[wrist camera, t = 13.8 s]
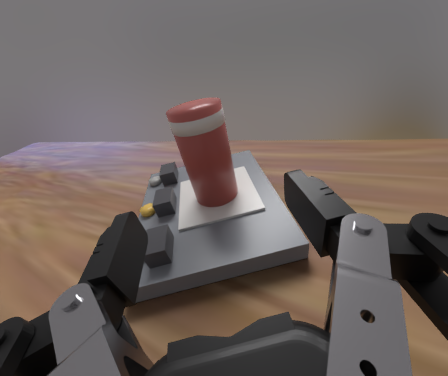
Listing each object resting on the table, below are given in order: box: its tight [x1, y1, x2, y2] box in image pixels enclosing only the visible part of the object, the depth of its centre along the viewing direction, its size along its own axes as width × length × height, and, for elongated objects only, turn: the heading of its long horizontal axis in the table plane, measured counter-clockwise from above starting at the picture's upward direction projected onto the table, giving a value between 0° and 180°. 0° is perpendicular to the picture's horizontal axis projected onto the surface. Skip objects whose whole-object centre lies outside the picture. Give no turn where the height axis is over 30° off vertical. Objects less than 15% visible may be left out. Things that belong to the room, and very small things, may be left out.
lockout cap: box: [166, 98, 238, 207], centre depth 21 cm, size 5×5×10 cm
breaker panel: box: [136, 150, 309, 303], centre depth 24 cm, size 16×19×4 cm
